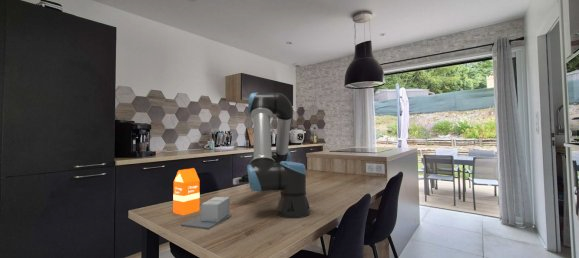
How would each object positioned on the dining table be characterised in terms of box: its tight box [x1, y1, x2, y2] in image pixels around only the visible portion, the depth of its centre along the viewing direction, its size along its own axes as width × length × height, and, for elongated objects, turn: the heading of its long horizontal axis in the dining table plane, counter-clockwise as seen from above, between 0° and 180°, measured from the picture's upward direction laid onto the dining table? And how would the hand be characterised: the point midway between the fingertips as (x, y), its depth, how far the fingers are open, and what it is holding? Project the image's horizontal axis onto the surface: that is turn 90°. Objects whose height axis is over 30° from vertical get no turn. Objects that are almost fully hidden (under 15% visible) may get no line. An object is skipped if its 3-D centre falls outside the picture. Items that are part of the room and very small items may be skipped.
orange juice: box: [172, 167, 201, 216], centre depth 117 cm, size 8×9×20 cm
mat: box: [180, 214, 232, 230], centre depth 103 cm, size 16×13×1 cm
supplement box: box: [200, 196, 231, 222], centre depth 106 cm, size 7×7×13 cm
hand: (234, 181), depth 124 cm, fingers closed
